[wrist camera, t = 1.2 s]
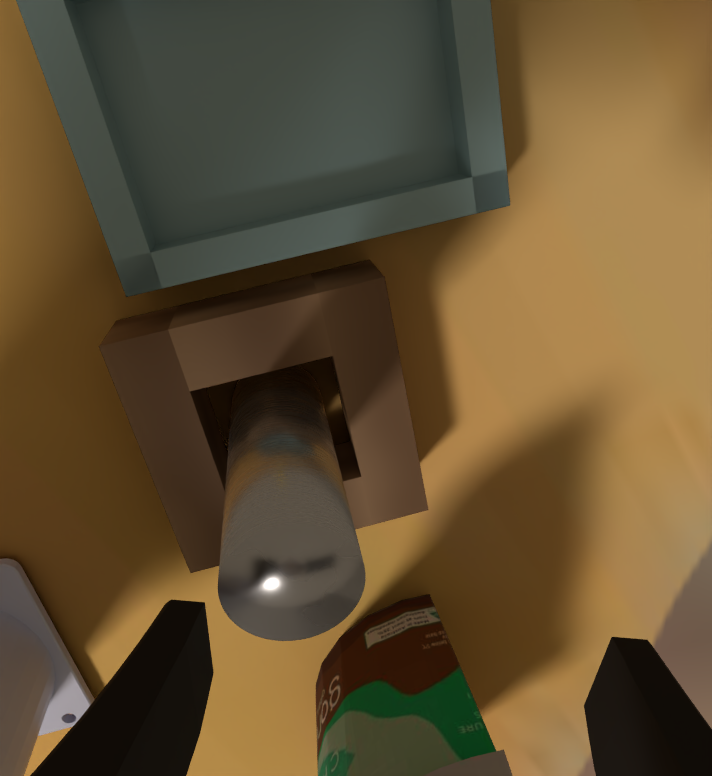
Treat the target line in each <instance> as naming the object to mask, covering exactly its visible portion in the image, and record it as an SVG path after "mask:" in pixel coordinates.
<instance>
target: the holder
mask: <svg viewBox="0 0 712 776" xmlns="http://www.w3.org/2000/svg"><path fill="white" fill-rule="evenodd" d="M99 348H100V351H101V353H102V356H103V358H104V360H105V363H106V365H107V368H108V370H109V373H110V375H111V378H112V380H113V383H114V385H115V388H116V390H117V393H118V395H119V397H120V400H121V402H122V405H123V407H124V410H125V412H126V415H127V417H128V420H129V422H130V425H131V427H132V430H133V432H134V435H135V437H136V439H137V442H138V444H139V447H140V449H141V452H142V454H143V457H144V459H145V462H146V464H147V467H148V469H149V472H150V474H151V477H152V479H153V481H154V484H155V486H156V489H157V491H158V494H159V496H160V499H161V501H162V504H163V506H164V509H165V511H166V514H167V516H168V518H169V521H170V523H171V526H172V528H173V531H174V533H175V536H176V538H177V541H178V543H179V546H180V548H181V551H182V553H183V556H184V558H185V560H186V563H187V565H188V568H189V570H190V573H193V572H196V571H200V570H204V569H208V568H212V567H215V566H219V564H220V551H221V538H222V524H223V511H224V498H225V485H226V472H227V459H228V453H227V450H226V447H225V444H224V441H223V438H222V435H221V432H220V430H219V427H218V424H217V421H216V418H215V415H214V412H213V409H212V406H211V403H210V400H209V397H208V394H207V391H206V387H210V386H214V385H218V384H222V383H226V382H230V381H234V380H238V379H242V378H246V377H250V376H254V375H258V374H262V373H266V372H270V371H274V370H278V369H282V368H286V367H291V366H295V365H299V364H303V363H307V362H311V361H315V360H319V359H323V358H327V357H331V361H332V365H333V370H334V374H335V378H336V382H337V386H338V391H339V395H340V399H341V403H342V407H343V412H344V416H345V420H346V424H347V428H348V432H349V437H350V442H346V443H342V444H339V445H335V446H334V448H335V452H336V456H337V460H338V464H339V468H340V472H341V476H342V480H343V484H344V488H345V491H346V495H347V499H348V503H349V507H350V511H351V515H352V519H353V523H354V527H355V529H358V528H362V527H366V526H370V525H373V524H377V523H381V522H385V521H388V520H392V519H396V518H400V517H404V516H407V515H411V514H415V513H419V512H422V511H426V510H428V505H427V500H426V495H425V489H424V484H423V479H422V474H421V468H420V463H419V458H418V452H417V447H416V442H415V436H414V431H413V426H412V420H411V415H410V410H409V405H408V399H407V394H406V389H405V383H404V378H403V373H402V367H401V362H400V357H399V352H398V346H397V341H396V336H395V330H394V325H393V320H392V314H391V309H390V304H389V298H388V293H387V288H386V283H385V277H384V276H383V275H382V274H381V272H380V271H379V270H378V269H377V268H376V267H375V265H374V264H373V263H372V262H371V261H370V260H367V261H363V262H359V263H355V264H350V265H346V266H342V267H338V268H334V269H330V270H326V271H321V272H317V273H313V274H309V275H305V276H301V277H296V278H292V279H288V280H284V281H280V282H276V283H272V284H267V285H263V286H259V287H255V288H251V289H247V290H242V291H238V292H234V293H230V294H226V295H222V296H218V297H213V298H209V299H205V300H201V301H197V302H193V303H188V304H184V305H180V306H176V307H172V308H168V309H163V310H159V311H155V312H151V313H147V314H143V315H139V316H134V317H130V318H126V319H122V320H118V321H116V322H115V324H114V325H113V327H112V328H111V330H110V331H109V332H108V334H107V335H106V337H105V338H104V340H103V341H102V343H101V344H100V346H99Z"/></svg>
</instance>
